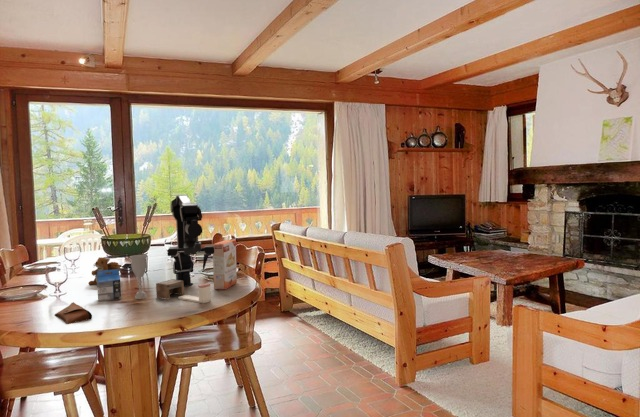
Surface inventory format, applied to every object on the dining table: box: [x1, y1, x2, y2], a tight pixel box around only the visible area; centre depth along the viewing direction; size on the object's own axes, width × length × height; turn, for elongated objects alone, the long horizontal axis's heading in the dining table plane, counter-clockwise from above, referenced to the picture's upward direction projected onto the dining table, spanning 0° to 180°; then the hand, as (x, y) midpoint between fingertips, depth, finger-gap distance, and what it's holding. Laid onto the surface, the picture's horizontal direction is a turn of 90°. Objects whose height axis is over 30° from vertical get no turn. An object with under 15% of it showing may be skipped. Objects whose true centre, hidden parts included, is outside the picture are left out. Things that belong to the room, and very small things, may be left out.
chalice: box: [129, 254, 148, 300], centre depth 193 cm, size 7×7×18 cm
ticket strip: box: [177, 283, 212, 304], centre depth 187 cm, size 15×4×7 cm, turn 57°
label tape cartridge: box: [96, 269, 122, 302], centre depth 192 cm, size 9×4×12 cm, turn 117°
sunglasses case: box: [54, 301, 93, 325], centre depth 169 cm, size 18×7×7 cm, turn 46°
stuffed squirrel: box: [88, 257, 122, 286], centre depth 224 cm, size 10×14×13 cm
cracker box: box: [212, 239, 238, 290], centre depth 210 cm, size 14×6×21 cm, turn 168°
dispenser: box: [155, 278, 185, 300], centre depth 195 cm, size 7×9×6 cm
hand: (192, 270), depth 190 cm, fingers open, 9 cm apart
